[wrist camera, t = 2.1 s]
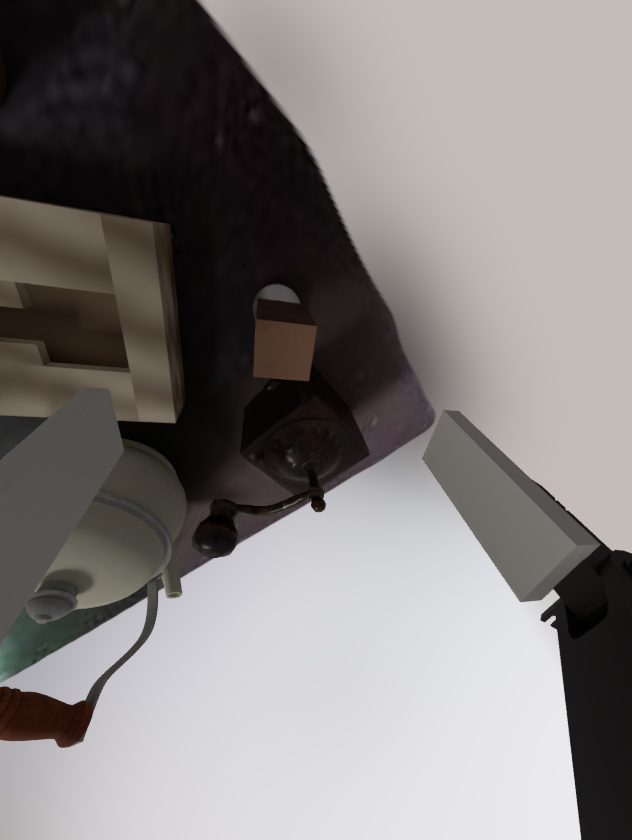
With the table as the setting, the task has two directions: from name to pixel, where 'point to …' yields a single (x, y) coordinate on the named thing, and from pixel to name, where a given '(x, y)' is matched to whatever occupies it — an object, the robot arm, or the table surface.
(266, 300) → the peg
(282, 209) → the table surface
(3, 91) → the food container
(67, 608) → the kettle
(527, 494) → the robot arm
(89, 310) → the keyhole plate
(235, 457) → the table surface
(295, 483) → the manual coffee grinder
